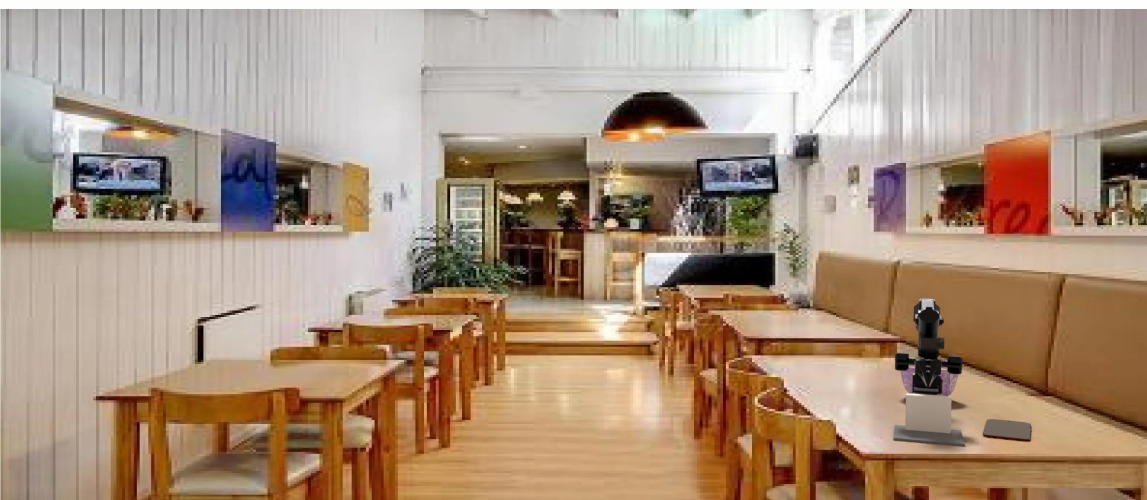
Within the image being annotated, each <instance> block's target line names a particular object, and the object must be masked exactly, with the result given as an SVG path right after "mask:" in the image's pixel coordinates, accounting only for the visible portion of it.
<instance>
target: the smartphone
mask: <svg viewBox="0 0 1147 500" xmlns="http://www.w3.org/2000/svg"><path fill="white" fill-rule="evenodd" d="M1031 427H1032V424H1031V423H1029V422H1025V421H1015V420H1007V419H1006V420H1005V419H995V418H993V419H992V418H988V419H986V422H985V424H984V429H983V431H982V432H983V433H982V437H983V438H990V439H997V440H999V439H1000V440H1007V441H1008V440H1009V441H1016V442H1017V441H1018V442H1025V443H1026V442H1028V443H1031V437H1032V435H1031V434H1032V428H1031Z"/></svg>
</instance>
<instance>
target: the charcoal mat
mask: <svg viewBox="0 0 1147 500" xmlns="http://www.w3.org/2000/svg"><path fill="white" fill-rule="evenodd" d="M892 439H893V441H898V440H901V442H910V441H911V442H910V443H912V442H913V443H923V444H934V445H945V446H946V445H947V446H957V447H966V443H965V440H964V435H963V431H962V429H961V430H960V429H951V433H940V432H928V431H916V430H905V425H901V424H894V428H893V438H892Z"/></svg>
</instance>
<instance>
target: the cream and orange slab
mask: <svg viewBox="0 0 1147 500" xmlns="http://www.w3.org/2000/svg"><path fill="white" fill-rule="evenodd" d="M904 426H905V430H916V431H928V432H940V433H951V430H952V396H951V395H949V396H939V395H925V394H911V393H909V392H906V393H905V425H904Z"/></svg>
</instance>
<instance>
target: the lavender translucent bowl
mask: <svg viewBox="0 0 1147 500" xmlns="http://www.w3.org/2000/svg"><path fill="white" fill-rule="evenodd" d="M899 372H900V376H901V382H902V384H903V387H904V389H905V391H906V393H911V394H915V392H914V393H912V377H913V374H915V366H909V369H908V370H907V371H899ZM959 375H960V374H950V373H948V372H947V367H942V368H941V379H942V380H943V386H942V394H937V395H939V396H951V395H952V394H953V392H954V391H955V388H956V386H957V382H958V378H959ZM914 388H915V387H914ZM915 389H920V388H915ZM929 390H935V389H929ZM936 390H938V389H936Z"/></svg>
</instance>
